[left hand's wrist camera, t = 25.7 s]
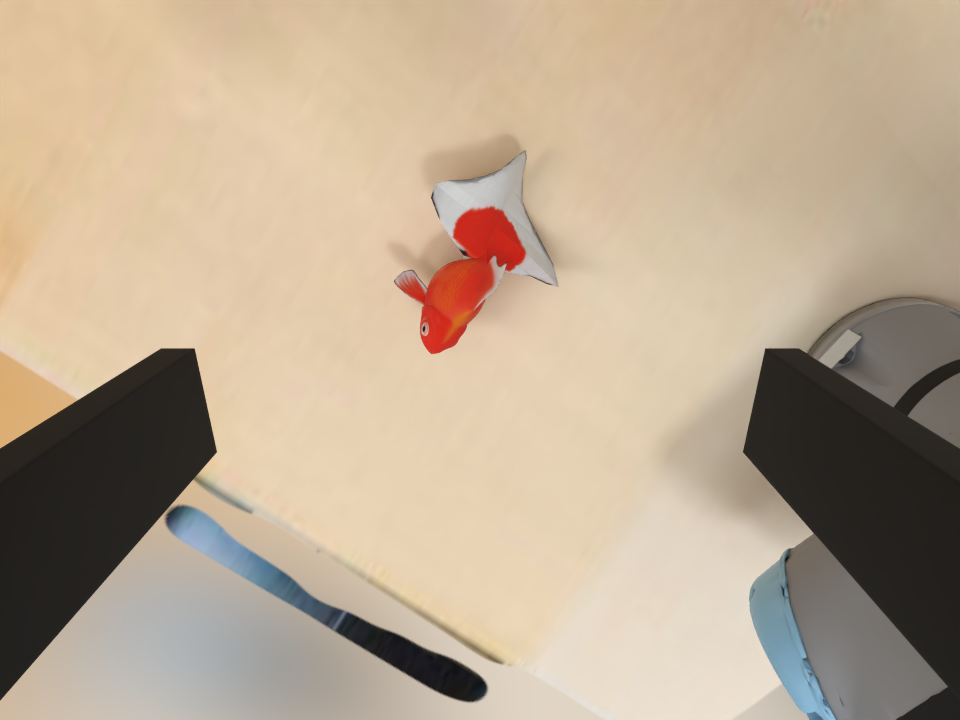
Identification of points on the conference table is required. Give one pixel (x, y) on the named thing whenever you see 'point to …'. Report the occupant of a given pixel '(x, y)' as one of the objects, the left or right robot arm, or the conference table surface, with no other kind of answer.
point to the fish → (477, 251)
